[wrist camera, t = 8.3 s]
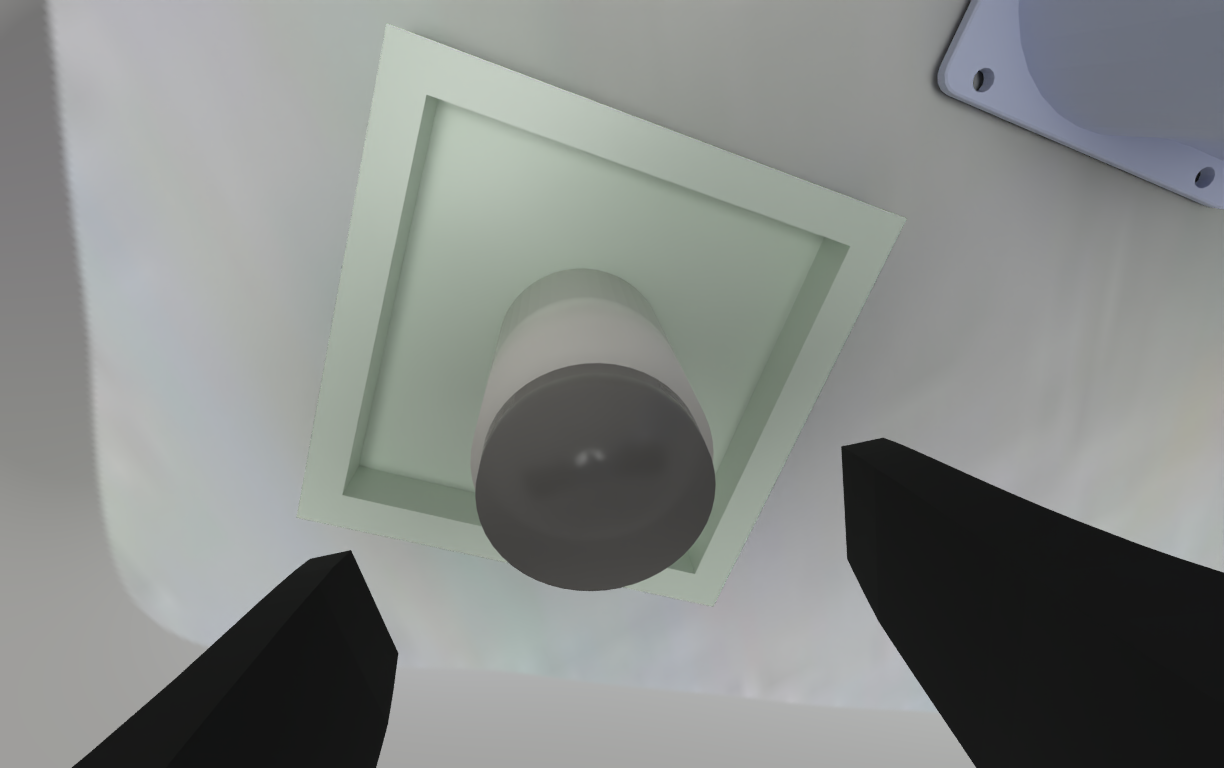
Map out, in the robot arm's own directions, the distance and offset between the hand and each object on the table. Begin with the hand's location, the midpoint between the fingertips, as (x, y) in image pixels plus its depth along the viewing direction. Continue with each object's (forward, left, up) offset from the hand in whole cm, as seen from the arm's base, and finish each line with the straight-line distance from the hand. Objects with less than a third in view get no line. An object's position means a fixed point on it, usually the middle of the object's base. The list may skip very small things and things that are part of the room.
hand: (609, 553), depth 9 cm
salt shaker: (0, 0, -8) cm, 8 cm away
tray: (0, 0, -9) cm, 9 cm away
